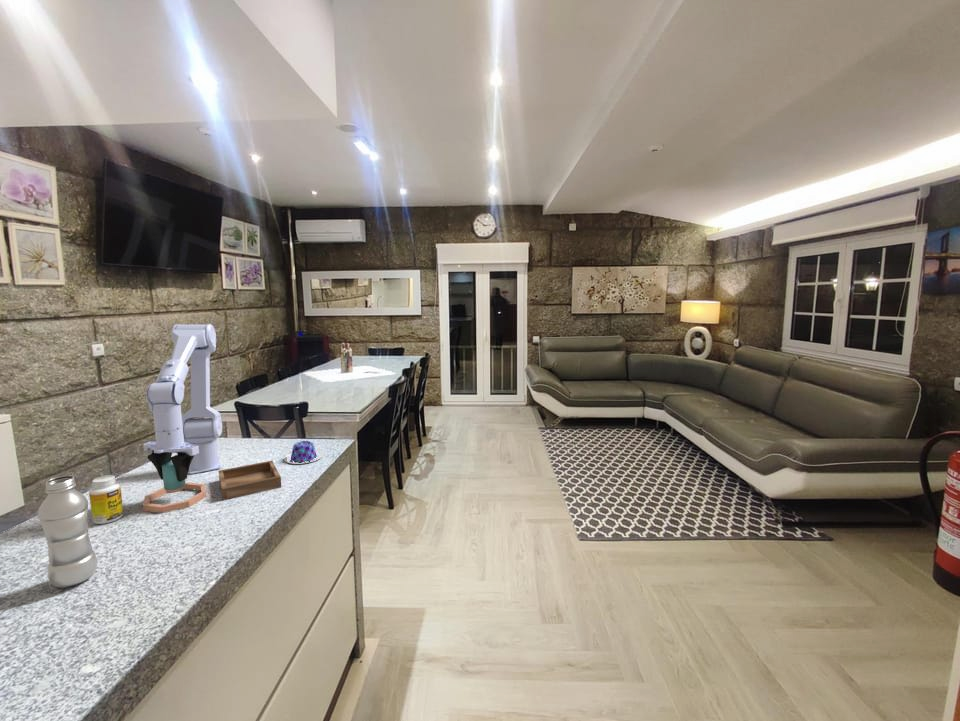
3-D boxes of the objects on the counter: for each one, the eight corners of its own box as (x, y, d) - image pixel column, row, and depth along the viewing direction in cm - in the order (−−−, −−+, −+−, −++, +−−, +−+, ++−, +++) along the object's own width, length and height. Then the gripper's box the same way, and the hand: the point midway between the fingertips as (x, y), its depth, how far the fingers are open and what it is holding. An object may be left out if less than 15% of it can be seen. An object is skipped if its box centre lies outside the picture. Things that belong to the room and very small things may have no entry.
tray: (219, 480, 121) (218, 470, 121) (272, 469, 129) (272, 460, 128) (222, 500, 110) (222, 489, 109) (281, 487, 118) (280, 476, 117)
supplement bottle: (111, 525, 97) (105, 483, 96) (86, 525, 97) (80, 483, 96) (130, 512, 103) (125, 473, 101) (106, 513, 103) (101, 473, 101)
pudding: (280, 467, 132) (279, 451, 131) (288, 453, 143) (287, 438, 142) (320, 464, 134) (320, 448, 134) (325, 450, 146) (324, 436, 145)
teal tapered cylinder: (159, 489, 107) (157, 466, 106) (180, 478, 113) (178, 457, 112) (174, 490, 107) (172, 468, 106) (195, 480, 113) (193, 459, 112)
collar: (146, 495, 111) (145, 490, 111) (204, 484, 119) (204, 479, 118) (142, 517, 101) (141, 511, 101) (206, 503, 108) (206, 497, 108)
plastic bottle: (107, 573, 81) (94, 474, 78) (63, 597, 74) (46, 490, 71) (85, 566, 83) (72, 469, 80) (40, 588, 76) (24, 484, 73)
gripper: (129, 431, 104) (135, 483, 106) (179, 435, 102) (185, 488, 104) (155, 422, 111) (161, 471, 113) (203, 426, 108) (208, 476, 111)
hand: (174, 479), depth 109 cm, fingers closed on teal tapered cylinder, 4 cm apart
